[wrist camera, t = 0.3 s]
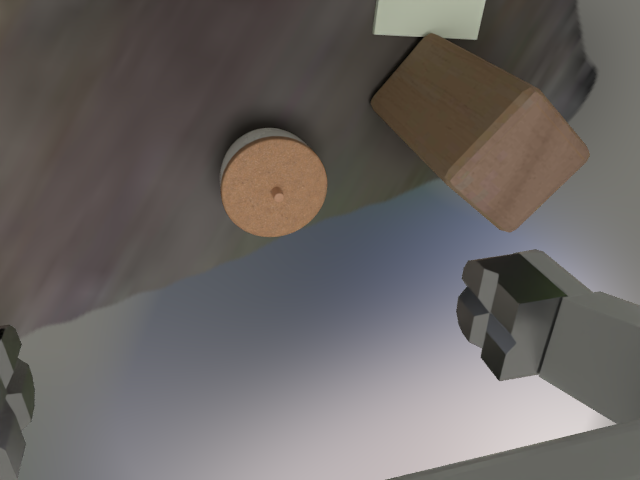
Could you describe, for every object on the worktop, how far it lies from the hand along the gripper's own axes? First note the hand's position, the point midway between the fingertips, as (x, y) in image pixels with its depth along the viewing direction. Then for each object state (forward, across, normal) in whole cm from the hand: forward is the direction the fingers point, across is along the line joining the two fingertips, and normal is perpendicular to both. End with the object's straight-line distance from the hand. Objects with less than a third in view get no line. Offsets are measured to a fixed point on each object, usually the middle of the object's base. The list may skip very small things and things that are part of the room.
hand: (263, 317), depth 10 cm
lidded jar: (+48, -8, +16) cm, 51 cm away
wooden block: (+47, -26, +9) cm, 55 cm away
